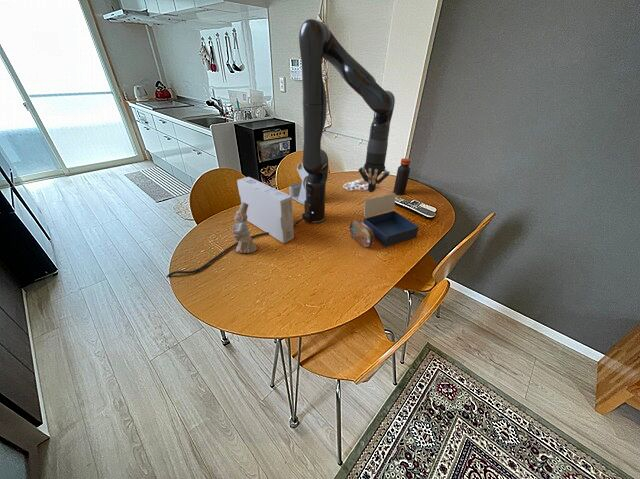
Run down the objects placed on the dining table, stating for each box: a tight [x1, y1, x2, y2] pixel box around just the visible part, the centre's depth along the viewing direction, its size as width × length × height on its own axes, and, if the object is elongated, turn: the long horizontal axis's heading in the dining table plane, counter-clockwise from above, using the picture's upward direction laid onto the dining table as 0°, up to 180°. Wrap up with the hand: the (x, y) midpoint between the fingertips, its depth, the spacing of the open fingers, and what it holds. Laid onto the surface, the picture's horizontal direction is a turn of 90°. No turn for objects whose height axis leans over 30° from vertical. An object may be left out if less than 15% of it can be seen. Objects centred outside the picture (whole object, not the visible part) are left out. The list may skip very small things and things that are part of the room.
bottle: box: [393, 157, 411, 196], centre depth 149 cm, size 7×7×20 cm
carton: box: [363, 210, 420, 248], centre depth 117 cm, size 18×17×5 cm
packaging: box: [236, 176, 295, 244], centre depth 114 cm, size 30×6×20 cm, turn 47°
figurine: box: [231, 202, 258, 254], centre depth 101 cm, size 9×8×20 cm
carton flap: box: [363, 192, 396, 218], centre depth 119 cm, size 18×8×1 cm
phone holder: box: [288, 162, 308, 206], centre depth 141 cm, size 17×10×18 cm, turn 42°
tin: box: [349, 219, 376, 248], centre depth 110 cm, size 15×3×8 cm, turn 27°
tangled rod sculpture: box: [342, 177, 368, 192], centre depth 159 cm, size 19×14×4 cm
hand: (371, 191), depth 109 cm, fingers closed
